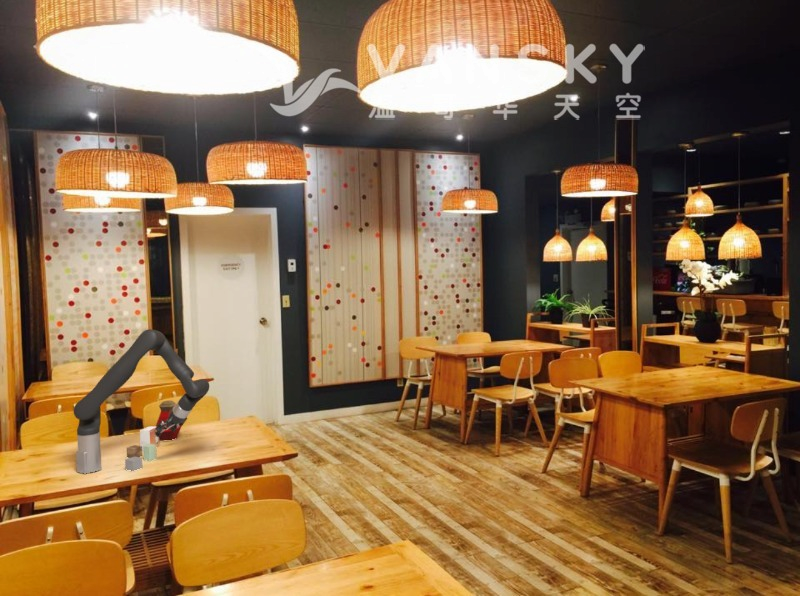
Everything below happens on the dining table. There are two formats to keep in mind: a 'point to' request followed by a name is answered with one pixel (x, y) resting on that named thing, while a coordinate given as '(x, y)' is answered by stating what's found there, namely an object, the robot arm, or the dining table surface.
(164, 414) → the bottle
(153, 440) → the small box
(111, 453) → the dining table surface
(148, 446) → the sage block
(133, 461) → the grey cube
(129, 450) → the walnut block
